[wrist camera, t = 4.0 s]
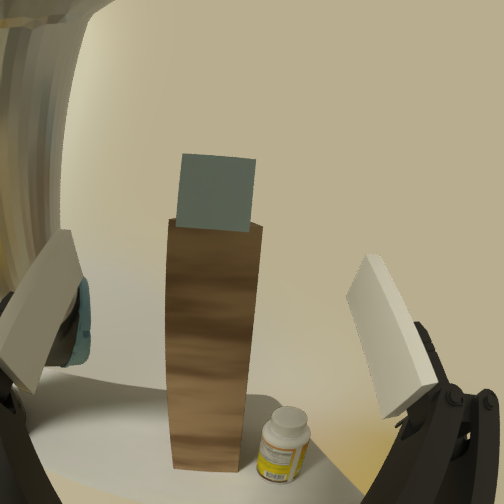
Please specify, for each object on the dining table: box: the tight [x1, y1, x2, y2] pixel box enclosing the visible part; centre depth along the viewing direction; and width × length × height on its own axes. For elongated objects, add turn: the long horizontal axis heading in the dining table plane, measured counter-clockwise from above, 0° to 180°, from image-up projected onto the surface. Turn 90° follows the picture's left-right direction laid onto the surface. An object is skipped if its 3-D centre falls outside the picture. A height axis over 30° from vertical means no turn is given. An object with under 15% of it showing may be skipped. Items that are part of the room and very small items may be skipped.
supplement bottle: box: [257, 406, 310, 484], centre depth 29 cm, size 6×6×10 cm
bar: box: [176, 154, 256, 232], centre depth 26 cm, size 22×4×4 cm, turn 6°
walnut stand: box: [165, 218, 263, 472], centre depth 32 cm, size 10×8×30 cm
